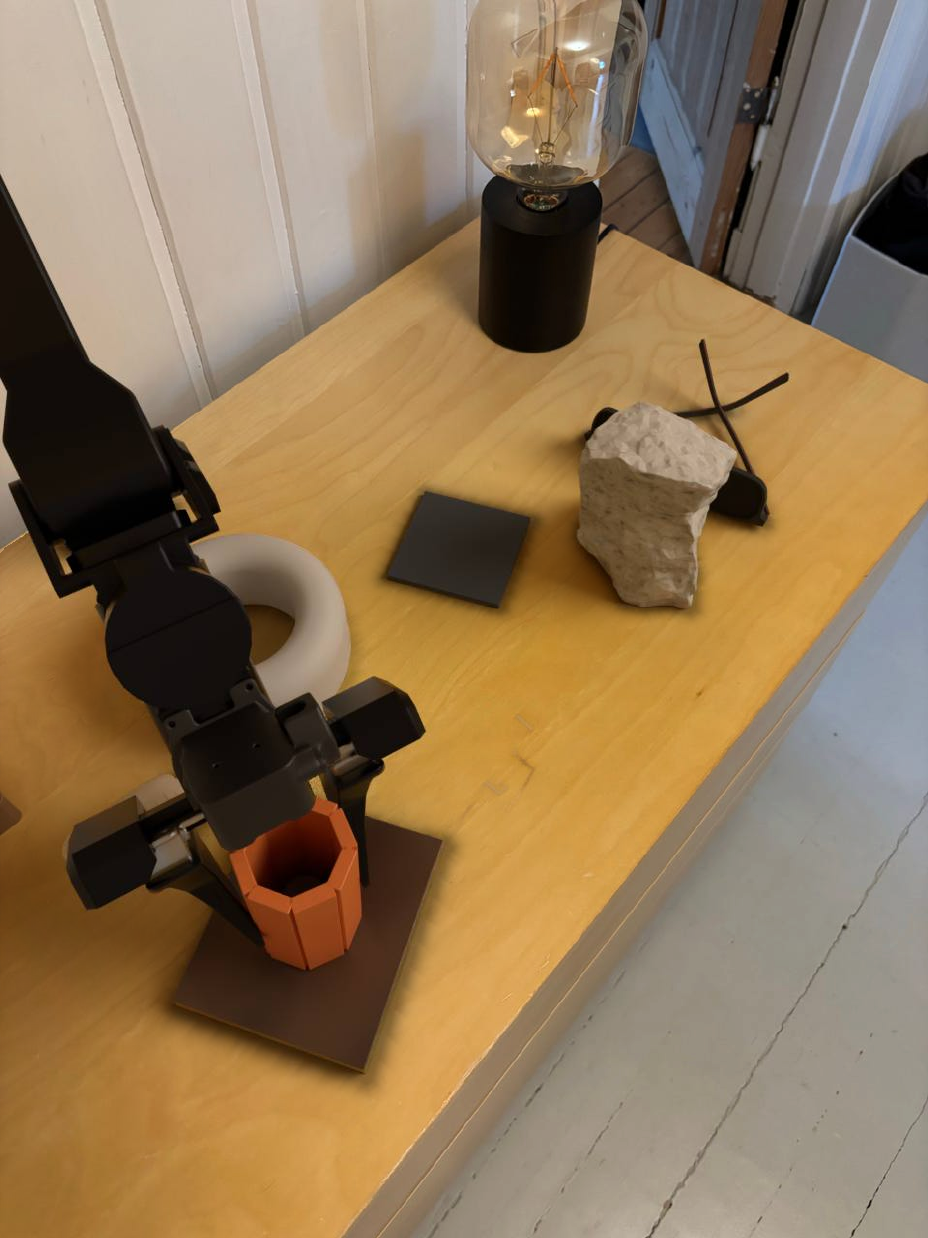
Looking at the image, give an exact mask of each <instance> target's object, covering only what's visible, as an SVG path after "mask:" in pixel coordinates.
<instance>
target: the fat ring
mask: <svg viewBox="0 0 928 1238" xmlns="http://www.w3.org/2000/svg"><path fill="white" fill-rule="evenodd" d="M190 546H191V548H192V551H193V553H194V554H196V555H197V556H199V559H204V560H205V562H206V565H207V567H208V569H209V571H210V573H211V575H212V576H213V577H215V578H216V579H218V580H219V581H220V582H222V583H223V584H225V585H226V586H227V587H228V588H229V589H230V590H231V591H232V592H233V593H234V594H235V595H236V596H237V597H238V598H239V599H240V601H241V602H242V604H243V606H247V605H248V606H249V605H260V606H267V607H272V608H275V609H278V610H280V611H282V612H284V613H286V614H287V615H289V616H290V617H291V618H292V619H293V620H294V626H293V629H292V632H291V633H290V635H289V637H288V639H287V640H286V642H285V643H284V644H283V645H282V647H280V648H279V649H278V651H276V652H275V653H274V654H272V655H271V656H270V657H268V658H267V659H265V660H263V661H261V662H259V663H257V664H254V666H255V668H256V670H257V672H258V674H259V676H260V678H261V680H262V682H263V684H264V687H265V689H266V691H267V693H268V695H269V697H270V699H271V701H272V703H273V705H274V706H275V707H276V708H277V707H279V706H281V705H283V704H285V703H287V702H289V701H291V700H293V699H295V698H297V697H299V696H301V695H303V694H305V693H307V692H310V693H311V694H312V696H313V697H314V698H315V700H316V701H317V703H318V704H319V706H320V708H321V710H322V712H324V710H323V707H322V703H321V702H322V701H324V700H326V699H328V698H330V697H332V696H334V695H336V694H338V693H339V690H340V689H341V686H342V684H343V682H344V680H345V677H346V674H347V671H348V670H349V669H348V668H349V664H350V659H351V650H352V649H351V648H352V647H351V645H352V643H351V633H350V627H349V622H348V617H347V611H346V606H345V601H344V598H343V595H342V591H341V589H340V587H339V585H338V583H337V581H336V579H335V577H334V576H333V574H332V573H331V571H330V570H329V569H328V568H327V567H326V565H325V564H324V563H323V562H322V561H321V560H320V559H319V558H317V557H316V556H315V555H314V554H313V553H311V552H310V551H308V550H307V549H305V548H304V547H302V546H300V545H298V544H296V543H294V542H292V541H289V540H287V539H284V538H281V537H277V536H274V535H269V534H261V533H252V532H251V533H250V532H249V533H248V532H247V533H246V532H243V533H230V534H222V535H218V536H215V537H214V536H213V537H210V538H207V539H204V540H201V541H198V542H196V543H193V544H192V545H191V544H190Z"/></svg>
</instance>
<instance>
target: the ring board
mask: <svg viewBox="0 0 928 1238" xmlns="http://www.w3.org/2000/svg"><path fill="white" fill-rule="evenodd" d="M365 828H366V841H367V852H368V864H369V876H370V886H369V887H367V888H365V889H364V888H363V887H362V885H361V884H360V893H361V908H362V911H361V914H362V917H361V919H360V922H359V924H358V927H357V929H356V932H355V934H354V937H353V939H352V941H351V944H350V946H349V949H348V950H345V949H344V955H341V956H339V957H337V958H335V959H333V960H331V961H328V962H326V963H324V964H322V965H320V966H318V967H316V968H313V969H311V970H309V967H308V965H307V967H306V969H305V970H303V969H300V968H297V967H295V966H292V965H290V964H287V963H285V962H282V961H279V960H277V959H274V958H272V957H271V955H270V953H267V951H266V949H265V946H263V947H261V948H257V947H256V946H255V945H254V944H253V943H252V942H250V941H249V940H248V939H247V938H246V937H245V936H243V935H242V934H241V933H240V932H239V931H238V930H237V929H235V928H234V927H233V926H232V925H231V924H230V923H228V922H227V921H226V920H225V919H224V918H223V917H221V916H220V915H219V913H217V912H216V911H214V910H213V909H212V912H211V914H210V916H209V919H208V921H207V922H206V925H205V928H204V930H203V932H202V933H201V936H200V938H199V940H198V942H197V944H196V946H195V949H194V951H193V953H192V954H191V958H190V959H189V962H188V964H187V966H186V967H185V970H184V972H183V975H182V977H181V979H180V980H179V983H178V986H177V988H176V989H175V991H174V994H173V996H172V998H171V1002H173V1003H174V1004H175V1005H176V1006H177V1007H179V1008H183V1009H186V1010H187V1011H188V1010H189V1011H191V1012H194V1013H197V1014H198V1015H199V1014H200V1015H202V1016H205V1017H208V1018H211V1019H213V1020H216V1021H218V1022H221V1023H224V1024H227V1025H230V1026H232V1027H233V1026H234V1028H235V1027H236V1028H238V1029H241V1030H243V1031H247V1032H250V1033H252V1034H254V1035H258V1036H260V1037H262V1038H266V1039H269V1040H271V1041H275V1042H277V1043H278V1044H282V1045H285V1046H288V1047H291V1048H293V1049H296V1050H298V1051H302V1052H305V1053H307V1054H310V1055H313V1056H316V1057H319V1058H320V1059H325V1060H327V1061H329V1062H332V1063H335V1064H338V1065H341V1066H343V1067H346V1068H349V1069H352V1070H354V1071H357V1072H360V1073H363V1074H365V1075H367V1074H368V1071H369V1067H370V1065H371V1062H372V1060H373V1059H372V1058H373V1056H374V1053H375V1050H376V1047H377V1044H378V1042H379V1038H380V1035H381V1032H382V1029H383V1027H384V1024H385V1021H386V1019H387V1015H388V1012H389V1010H390V1006H391V1004H392V1001H393V997H394V995H395V992H396V989H397V986H398V983H399V980H400V978H401V975H402V971H403V969H404V966H405V962H406V959H407V957H408V955H409V951H410V948H411V945H412V943H413V939H414V936H415V934H416V931H417V928H418V925H419V922H420V920H421V916H422V914H423V910H424V909H425V904H426V901H427V899H428V896H429V893H430V890H431V887H432V884H433V882H434V878H435V875H436V873H437V869H438V866H439V864H440V860H441V858H442V855H443V852H444V849H445V845H444V844H445V843H444V840H443V839H441V838H438V837H434V836H432V835H429V834H425V833H422V832H419V831H416V830H412V829H408V828H407V827H403V826H400V825H397V824H393V823H390V822H386V821H383V820H380V819H377V818H374V817H371V816H367V815H365ZM227 878H228V879H229V881H230V882H231V884H232V885H233V887H234V888H235V890H236V891H237V893H238V894H239V896H240V897H241V899H242V900H243V902H244V903H245V905H246V906H247V904H246V902H245V899H244V897H243V895H242V892H241V889H240V886H239V884H238V881H237V878H236V875H235V872H234V870H233V868H231V871H230V873H229V875H228V876H227ZM324 883H326V882H324V881H321V880H320V879H318V878H317V877H315V876H311V875H302V876H299V877H296V878H294V879H293V880H291V881H290V882H289V883H288V884H287V886H286V887H285V888H283V889H282V890H281V892H280V894H283V895H285V896H288V897H291V898H292V897H295V896H297V895H299V894H302V893H304V892H306V891H308V890H311V889H313V888H315V887H317V886H320V885H322V884H324ZM247 908H248V906H247Z"/></svg>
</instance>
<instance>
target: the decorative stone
mask: <svg viewBox="0 0 928 1238" xmlns="http://www.w3.org/2000/svg"><path fill="white" fill-rule="evenodd" d="M580 453H581V454H580V459H579V465H578V469H577V472H578V473H577V474H578V483H579V484H578V485H579V492H580V493H579V499H580V504H579V505H580V506H579V515H578V522H579V528H578V529H577V530H576V532H575V533H576V538H577V540H578V542H579V544H580V545H581V546H582V547H583V548H584V549H585V550H586V551H587V553H589V554H590V555H592V556H593V557H594V558H595V560H597V561H598V562H599V564H600V565H601V567H602V568H603V569H604V571H605V572H606V574H607V575H608V576H609V577H610V578H611V584H612V586H613V588H614V589H615V591H616V592H617V594H618V596H619V598H620V599H621V601H623V602H625V604H629V605H633V606H636V607H638V608H653V607H660V606H663V607H665V606H667V607H668V606H671V607H675V608H679V609H683V610H686V609H688V608H689V609H690V607H692V605H693V601H694V594H695V593H696V591H697V590H698V589H697V588H698V587H697V582H698V571H699V563H698V545H697V544H698V539H699V538H700V536H701V535H702V530H703V528H704V525H705V524H706V520H707V514H708V512H709V511H710V510H709V504H710V503H711V502H712V501H713V500H714V499H715V498H716V496H717V492H718V490H719V489H720V488H721V487H722V486H723V485H724V484H725V482H726V481H727V479H728V477H729V472H730V471H731V469H732V466H734V463H735V462H736V460H737V458H738V451H736V450H735V449H733V448H732V447H731V446H730V445H729V444H728V443H727V442H726V441H723V440H720V439H718V438H717V437H715V436H714V435H711V434H709V433H707V432H706V431H704V430H702V429H701V428H699V427H698V426H697V425H696V424H695V423H694V422H693V421H691V420H689V419H686V418H681V417H679V416H677V415H676V414H673V412H671V411H669V410H666V409H664V408H663V407H662V406H661V405H656V404H654V403H650V402H647V401H642V400H639V401H638V402H636V403H635V404H632V405H631V406H628V407H627V408H624V409H621V410H618V412H616V413H614V414H613V415H612V416H611V417H610V418H609V419H608V420H607V421H606V422H605V423H604V424H602V425H601V426H599V427H598V428H596V429H595V431H594V433H593V435H592V436H591V438H590V439H589V440H588V441H586V442H585V445H584V448H583V449H582V451H581V452H580Z"/></svg>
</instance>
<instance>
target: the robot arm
mask: <svg viewBox="0 0 928 1238" xmlns="http://www.w3.org/2000/svg"><path fill="white" fill-rule="evenodd" d="M38 251H39V250H38V249H37V247H36V244H35V243H34V241H33V239H32V237H31V234H30V233H29V231H28V229H27V226H26V224H25V222H24V220H23V217H22V216H21V214H20V212H19V210H18V207H17V205H16V203H15V201H14V200H13V197H12V195H11V193H10V191H9V189H8V187H7V185H6V183H5V180H4V178H3V176H2V175H1V173H0V381H1V382H2V385H3V387H4V389H5V391H6V397H5V408H4V417H3V425H2V426H3V427H2V436H1V440H2V445H3V447H4V449H5V451H6V453H7V455H8V457H9V460H10V462H11V463H12V465H13V468H14V469H15V471H16V474H17V476H18V477H19V478H18V479H15V480H13V481H10V482H8V483H7V486H8V489H9V491H10V494H11V497H12V499H13V501H14V503H15V505H16V508H17V510H18V512H19V514H20V517H21V519H22V521H23V523H24V525H25V529H26V530H27V532H28V534H29V537H30V539H31V541H32V543H33V546H34V548H35V550H36V553H37V555H38V557H39V559H40V561H41V563H42V565H43V568H44V570H45V572H46V574H47V577H48V579H49V581H50V584H51V586H52V588H53V590H54V592H55V594H56V595H57V597H58V599H60V600H61V599H63V598H65V597H68V596H70V595H73V594H76V593H77V592H80V591H82V590H84V589H86V588H89V587H91V586H93V588H94V589H95V591H96V596H95V602H96V603H95V605H94V608H95V611H96V612H97V614H98V616H99V619H100V620H101V622H102V624H103V627H104V645H105V646H104V647H105V655H106V661H107V663H108V665H109V668H110V671H111V672H112V674H113V676H114V677H115V678H116V680H117V681H118V683H119V684H120V685H121V687H122V688H123V689H124V690H125V691H127V692H128V693H129V694H130V695H131V696H133V697H134V698H135V699H137V700H139V701H141V702H142V703H143V704H144V706H145V708H146V710H147V712H148V714H149V716H150V718H151V720H152V721H153V723H154V726H155V727H156V730H157V732H158V733H159V735H160V737H161V739H162V741H163V743H164V745H165V747H166V749H167V751H168V753H169V755H170V759H171V766H172V769H173V773H174V774H175V777H176V778H178V780H179V782H180V784H181V786H182V788H183V790H184V793H182V794H180V795H178V796H176V797H174V798H172V799H170V800H168V801H166V802H164V803H162V804H160V805H158V806H156V807H154V808H152V809H150V810H148V811H146V810H145V808H144V806H143V804H142V803H141V801H140V800H139V799H138V797H137V796H136V795H134V796H132V797H130V798H128V799H126V800H124V801H122V802H120V803H118V804H116V805H114V804H113V805H114V806H112V805H111V806H112V807H111V806H110V807H108V808H106V809H104V810H102V811H100V812H98V813H95V814H94V815H93V816H90V817H88V818H86V819H84V820H82V821H80V822H78V823H76V824H74V825H73V828H72V829H71V830H72V831H71V833H70V834H71V836H70V839H69V843H68V852H67V862H66V861H65V862H66V864H65V870H66V872H67V873H66V874H67V876H68V879H69V882H70V884H71V885H72V888H73V889H74V890H75V892H76V894H77V896H78V898H79V900H80V902H81V903H82V905H83V907H84V908H85V910H86V911H93V910H100V909H101V908H103V907H105V906H106V905H108V904H110V903H113V902H114V901H116V900H119V899H120V898H122V897H124V896H125V895H127V894H129V893H132V892H133V891H135V890H137V889H139V888H141V887H142V886H144V887H145V889H146V890H147V891H148V893H150V894H155V895H156V894H159V893H160V892H163V891H165V890H167V889H173V890H178V891H181V892H184V893H187V894H189V895H191V896H193V897H194V898H195V899H197V900H199V902H200V901H201V902H202V903H203V904H205V905H206V906H208V907H210V908H211V909H212V911H213V910H214V911H216V912H217V913H219V915H220V916H221V917H223V918H224V919H225V920H226V921H227V922H228V923H230V924H231V925H232V926H233V927H234V928H235V929H237V930H238V931H239V932H240V933H241V934H242V935H243V936H245V937H246V938H247V939H248V940H249V941H250V942H252V943H253V944H254V945H255V946H256V947H257V948H261V947H263V946H265V942H264V939H263V937H262V934H261V932H260V931H259V929H258V928H257V926H256V925H255V923H254V920H253V918H252V916H251V913H250V911H249V909H248V908H247V906H246V905H245V903H244V902H243V900H242V899H241V897H240V896H239V894H238V893H237V891H236V890H235V888H234V887H233V885H232V884H231V882H230V881H229V879H228V876H227V875H226V873H225V872H224V870H223V869H222V867H221V866H220V865H219V862H218V861H217V859H216V858H215V857H214V855H213V854H212V852H211V851H210V849H209V848H208V846H207V845H206V844H205V842H204V840H203V839H202V837H201V836H200V834H199V833H198V831H197V829H196V828H198V827H200V826H202V825H204V824H206V823H207V825H208V826H209V828H210V829H211V832H212V834H213V836H214V838H215V839H216V841H217V843H218V844H219V846H220V848H221V849H223V850H225V851H228V852H230V851H237V850H241V849H243V848H245V847H247V846H249V845H251V844H253V843H254V842H255V840H256V839H257V837H259V836H261V835H263V834H265V833H267V832H268V831H270V830H272V829H274V828H276V827H278V826H280V825H282V824H283V823H285V822H287V821H296V820H298V819H300V818H302V817H303V816H305V815H306V814H308V813H309V812H310V811H311V810H312V808H313V807H314V805H315V802H316V797H317V796H316V794H315V792H314V790H313V787H312V785H311V783H310V780H312V779H315V778H316V777H318V778H319V781H320V784H321V786H322V790H323V792H324V795H325V799H326V800H327V801H330V802H333V803H336V804H337V805H338V809H339V808H342V810H343V812H344V815H345V817H346V819H347V822H348V824H349V826H350V828H351V831H352V833H353V835H354V838H355V840H356V842H357V846H358V862H359V877H360V884H361V885H362V887H363V888H364V889H365V888H367V887H369V886H370V876H369V864H368V852H367V841H366V828H365V816H366V811H367V810H366V808H367V804H366V803H367V797H368V796H367V795H368V792H369V789H370V787H371V783H372V781H373V780H374V779H375V778H377V777H378V776H381V774H383V773H384V772H385V770H386V765H385V761H384V760H383V759H384V758H387V757H388V756H390V755H392V754H394V753H396V752H398V751H400V750H401V749H404V748H405V747H407V746H410V745H411V744H413V743H415V742H417V741H419V740H420V739H422V737H423V736H424V735H425V734H426V732H427V730H426V728H425V725H424V722H423V720H422V718H421V716H420V713H419V712H418V709H417V706H416V705H415V703H414V701H413V700H412V698H411V696H410V695H409V693H407V692H406V691H404V690H402V688H399V687H398V686H396V685H395V684H393V683H391V682H390V681H389V680H386V679H384V678H381V677H378V676H375V675H372V676H371V677H369V678H366V679H364V680H363V681H360V682H358V683H356V684H354V685H351V686H350V687H348V688H346V689H344V690H343V691H341V692H337V693H336V695H334V696H332V697H330V698H328V699H326V700H324V701H322V702H321V703H322V707H323V711H322V710H321V708H320V706H319V704H318V703H317V701H316V700H315V698H314V697H313V696H312V694H311V693H310V692H307V693H305V694H303V695H301V696H299V697H297V698H295V699H293V700H291V701H289V702H287V703H285V704H283V705H281V706H279V707H277V708H276V707H275V706H274V705H273V703H272V701H271V699H270V697H269V695H268V693H267V691H266V689H265V687H264V684H263V682H262V680H261V678H260V676H259V674H258V672H257V670H256V668H255V664H254V661H253V659H252V658H251V657H252V656H251V653H252V649H253V628H252V625H251V621H250V618H249V617H250V616H249V613H248V611H247V610H246V608H245V605H243V604H242V602H241V601H240V599H239V598H238V597H237V596H236V595H235V594H234V593H233V592H232V591H231V590H230V589H229V588H228V587H227V586H226V585H225V584H223V583H222V582H220V581H219V580H218V579H216V578H215V577H213V576H212V575H211V573H210V571H209V569H208V567H207V565H206V562H205V560H204V559H199V556H197V555H196V554H194V553H193V551H192V548H191V544H192V543H195V542H197V541H199V540H202V539H204V538H207V537H209V536H210V535H213V534H216V533H219V532H220V530H221V529H220V526H219V524H218V521H217V520H216V518H215V515H217V514H220V513H221V512H222V510H221V506H220V503H219V501H218V497H217V495H216V493H215V491H214V490H213V488H212V487H211V484H210V483H209V481H208V480H207V477H206V476H205V475H204V473H203V471H202V470H201V468H200V467H199V465H198V463H197V461H196V460H195V458H194V456H193V454H192V453H191V451H190V449H189V448H188V446H187V444H186V443H185V442H184V441H182V440H180V439H178V438H176V437H174V436H173V434H172V432H171V430H170V428H169V427H167V426H166V427H165V426H164V424H162V423H161V424H158V425H156V426H153V427H151V425H150V422H149V420H148V419H147V416H146V415H145V412H144V411H143V409H142V406H141V403H140V402H139V400H138V398H137V395H136V394H135V393H134V392H133V391H132V390H131V389H129V388H128V387H127V386H125V385H124V384H123V383H121V382H120V381H118V380H117V379H116V378H114V377H113V376H111V375H110V374H109V373H107V372H105V370H103V369H102V368H100V367H99V366H97V365H96V364H95V363H93V362H92V361H91V360H90V357H89V355H88V353H87V351H86V349H85V347H84V345H83V343H82V341H81V339H80V337H79V335H78V333H77V331H76V329H75V326H74V325H73V322H72V320H71V318H70V316H69V314H68V312H67V309H66V307H65V305H64V304H63V302H62V299H61V298H60V295H59V293H58V291H57V289H56V287H55V285H54V282H53V280H52V278H51V276H50V274H49V272H48V270H47V268H46V266H45V264H44V261H43V260H42V257H41V255H40V253H39V252H38ZM180 496H182V497H183V499H184V500H185V502H186V504H187V505H188V507H189V509H190V510H191V512H192V513H193V515H194V517H195V518H196V519H194V520H191V517H190V515H189V513H188V511H187V509H186V508H183V509H177V507H176V504H175V502H174V499H176V498H178V497H180ZM61 545H63V546H64V547H65V549H66V550H67V551H70V552H71V554H70V555H69V556H67V557H66V558H65V561H66V563H67V565H68V567H69V569H70V571H71V572H68V573H66V572H65V569H64V567H63V564H62V562H61V559H60V557H59V554H58V552H57V549H56V547H58V546H61Z"/></svg>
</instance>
